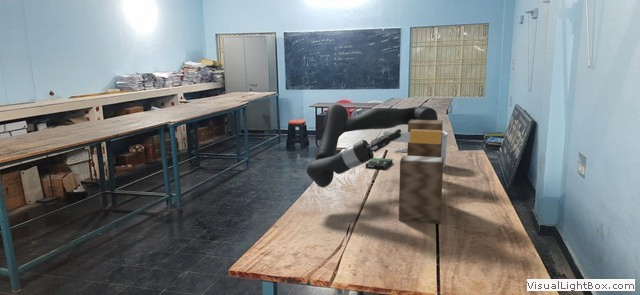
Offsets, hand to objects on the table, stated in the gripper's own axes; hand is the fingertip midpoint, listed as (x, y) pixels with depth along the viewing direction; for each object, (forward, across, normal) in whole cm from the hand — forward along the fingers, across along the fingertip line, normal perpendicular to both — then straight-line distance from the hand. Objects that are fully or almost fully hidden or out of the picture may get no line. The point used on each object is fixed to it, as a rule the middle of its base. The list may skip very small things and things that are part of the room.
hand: (400, 132), depth 143 cm
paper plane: (-19, +108, +24) cm, 113 cm away
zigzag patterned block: (-8, +8, +30) cm, 32 cm away
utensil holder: (-8, +73, +30) cm, 80 cm away
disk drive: (-31, +68, +18) cm, 77 cm away
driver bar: (+2, 0, +4) cm, 5 cm away
